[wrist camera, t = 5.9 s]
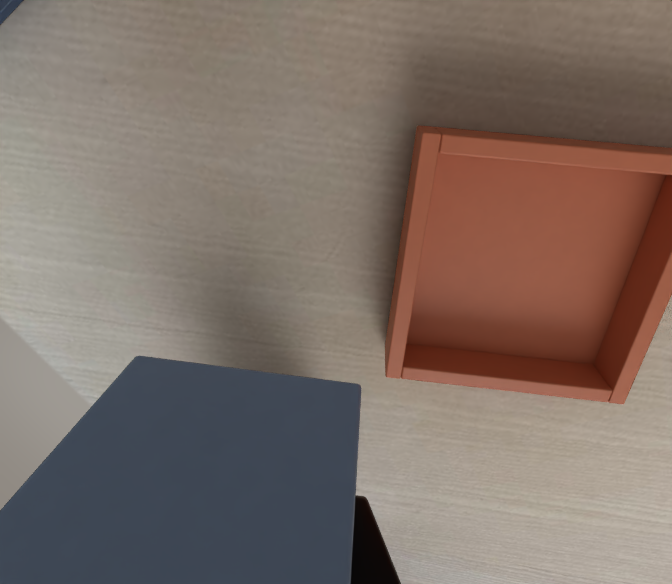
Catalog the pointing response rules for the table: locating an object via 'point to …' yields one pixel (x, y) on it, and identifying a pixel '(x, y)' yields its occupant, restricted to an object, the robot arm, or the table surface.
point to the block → (194, 483)
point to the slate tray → (7, 8)
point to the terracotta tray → (530, 263)
